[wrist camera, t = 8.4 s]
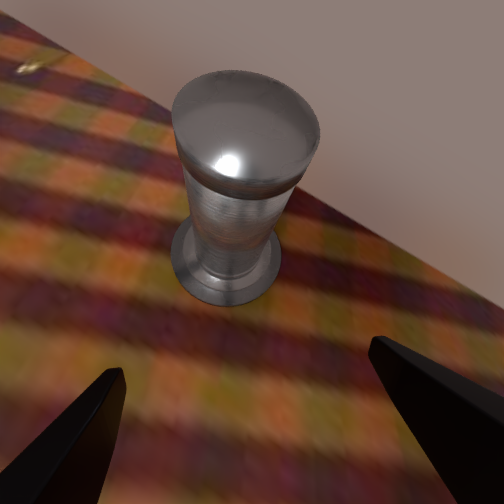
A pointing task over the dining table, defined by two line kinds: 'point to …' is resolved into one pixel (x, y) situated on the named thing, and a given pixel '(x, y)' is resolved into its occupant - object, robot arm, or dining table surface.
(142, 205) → the dining table surface
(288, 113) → the grey piece
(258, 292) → the silver flat disc
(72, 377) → the dining table surface
